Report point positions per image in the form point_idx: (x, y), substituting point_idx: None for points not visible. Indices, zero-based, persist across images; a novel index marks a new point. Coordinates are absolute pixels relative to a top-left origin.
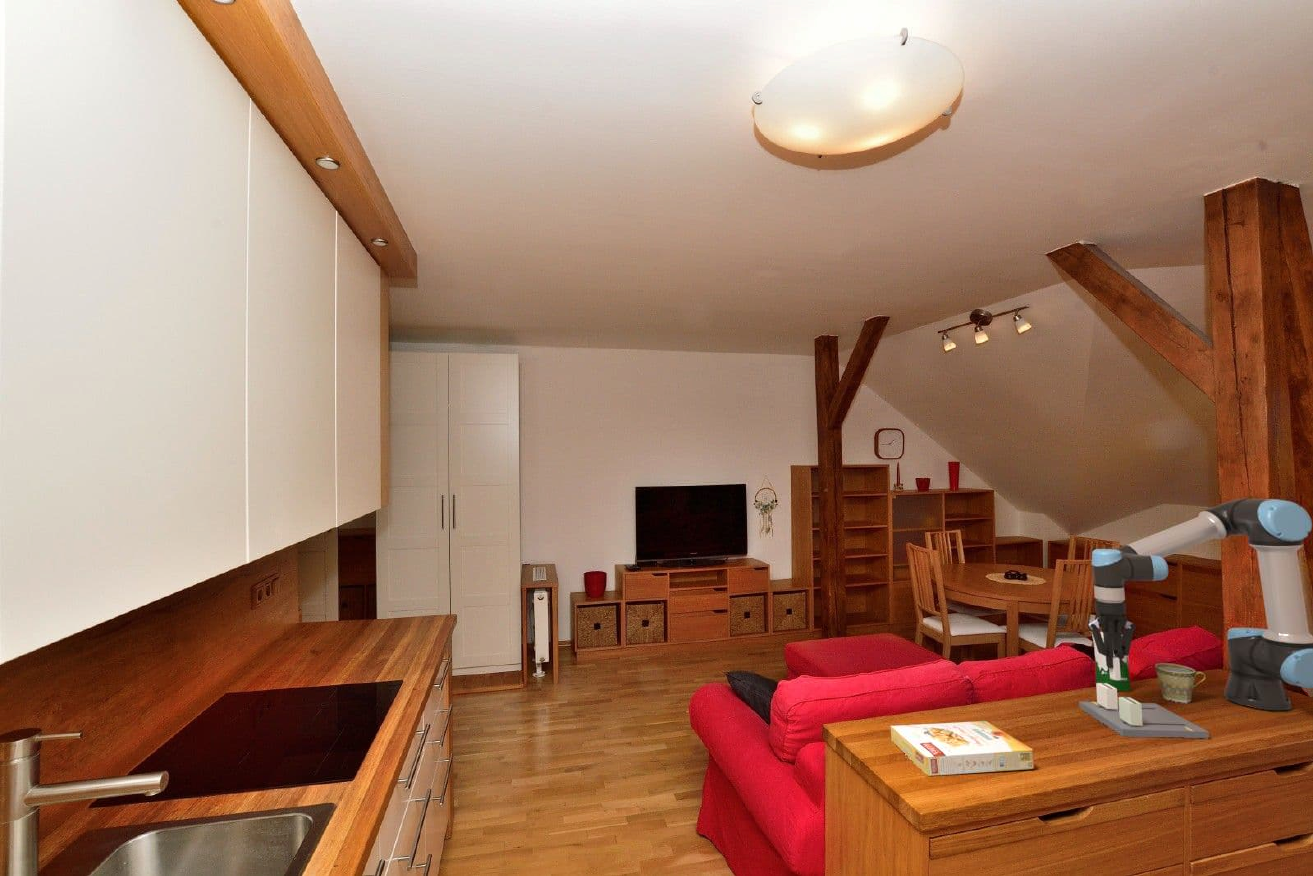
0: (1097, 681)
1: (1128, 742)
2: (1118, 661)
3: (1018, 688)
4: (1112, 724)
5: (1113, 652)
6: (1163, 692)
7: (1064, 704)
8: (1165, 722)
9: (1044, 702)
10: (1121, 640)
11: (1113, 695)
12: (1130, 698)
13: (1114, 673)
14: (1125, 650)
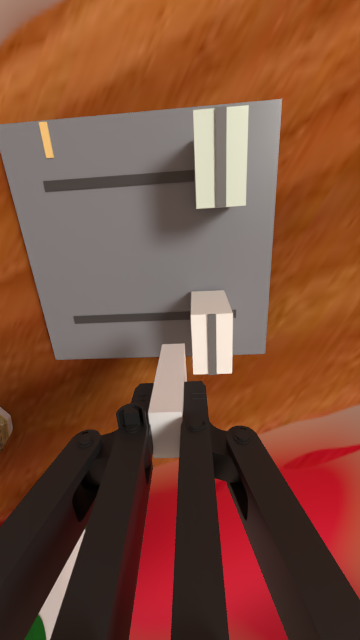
0: None
1: (287, 49)
2: (156, 399)
3: (335, 458)
4: (275, 170)
5: (64, 570)
6: (4, 434)
7: (285, 367)
8: (95, 200)
9: (332, 376)
10: (76, 562)
11: (204, 305)
12: (201, 191)
13: (184, 362)
14: (84, 462)
